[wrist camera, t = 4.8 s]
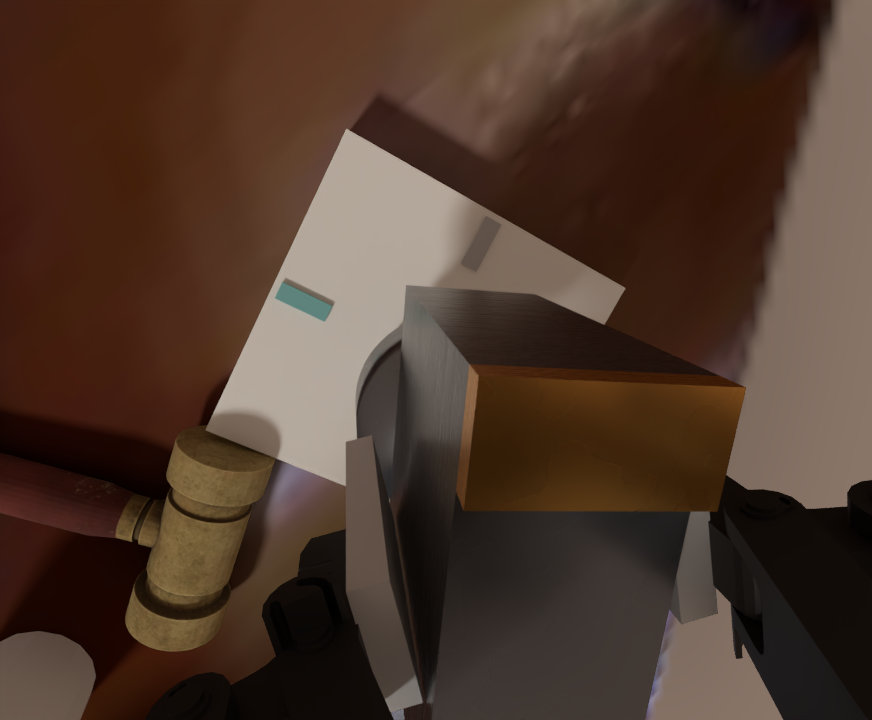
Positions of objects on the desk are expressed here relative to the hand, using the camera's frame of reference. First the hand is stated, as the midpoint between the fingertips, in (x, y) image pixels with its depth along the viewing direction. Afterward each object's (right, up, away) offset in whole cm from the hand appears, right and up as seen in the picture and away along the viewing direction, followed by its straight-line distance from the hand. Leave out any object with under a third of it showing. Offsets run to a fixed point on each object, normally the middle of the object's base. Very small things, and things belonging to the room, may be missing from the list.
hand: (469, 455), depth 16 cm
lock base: (-2, +3, +13) cm, 13 cm away
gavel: (-21, -3, +12) cm, 24 cm away
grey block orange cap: (-1, +1, +5) cm, 5 cm away
